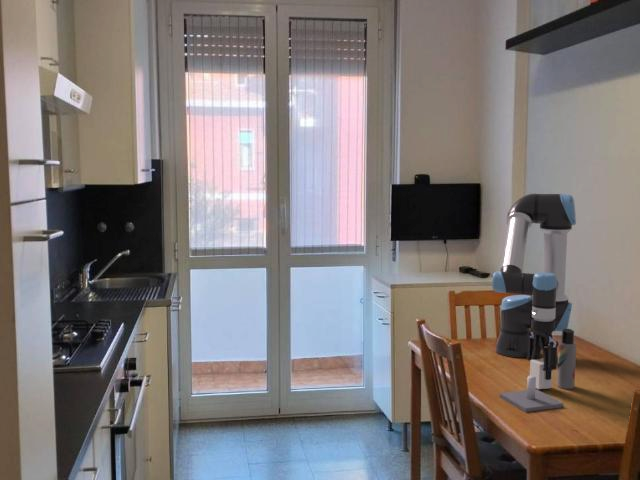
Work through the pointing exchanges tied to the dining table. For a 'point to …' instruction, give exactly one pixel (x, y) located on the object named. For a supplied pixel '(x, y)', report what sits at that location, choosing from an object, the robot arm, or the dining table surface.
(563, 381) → the lotion bottle
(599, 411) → the dining table surface
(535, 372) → the tall white block
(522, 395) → the post board
